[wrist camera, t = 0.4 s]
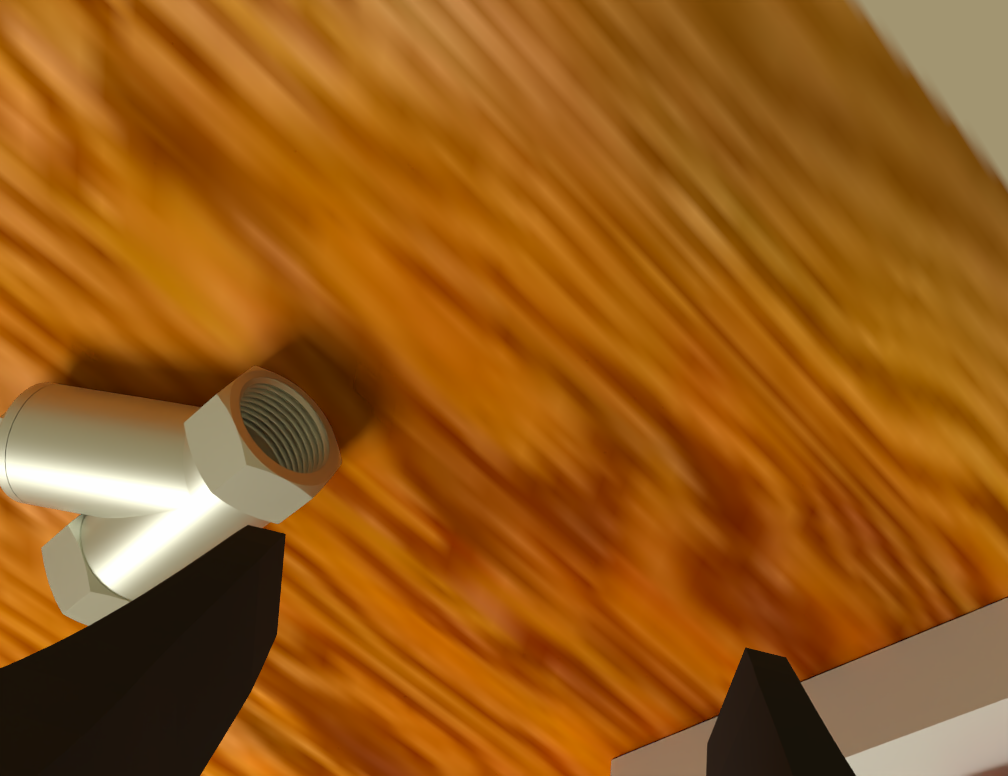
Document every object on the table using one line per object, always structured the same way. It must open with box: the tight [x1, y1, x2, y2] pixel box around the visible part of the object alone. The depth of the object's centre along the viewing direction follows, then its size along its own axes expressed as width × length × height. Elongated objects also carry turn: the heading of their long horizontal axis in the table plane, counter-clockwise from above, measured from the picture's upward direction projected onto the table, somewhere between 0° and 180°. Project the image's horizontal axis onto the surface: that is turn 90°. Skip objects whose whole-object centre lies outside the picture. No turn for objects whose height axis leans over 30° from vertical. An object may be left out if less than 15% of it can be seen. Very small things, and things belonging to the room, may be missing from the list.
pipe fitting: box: [0, 365, 342, 626], centre depth 24 cm, size 8×4×7 cm
